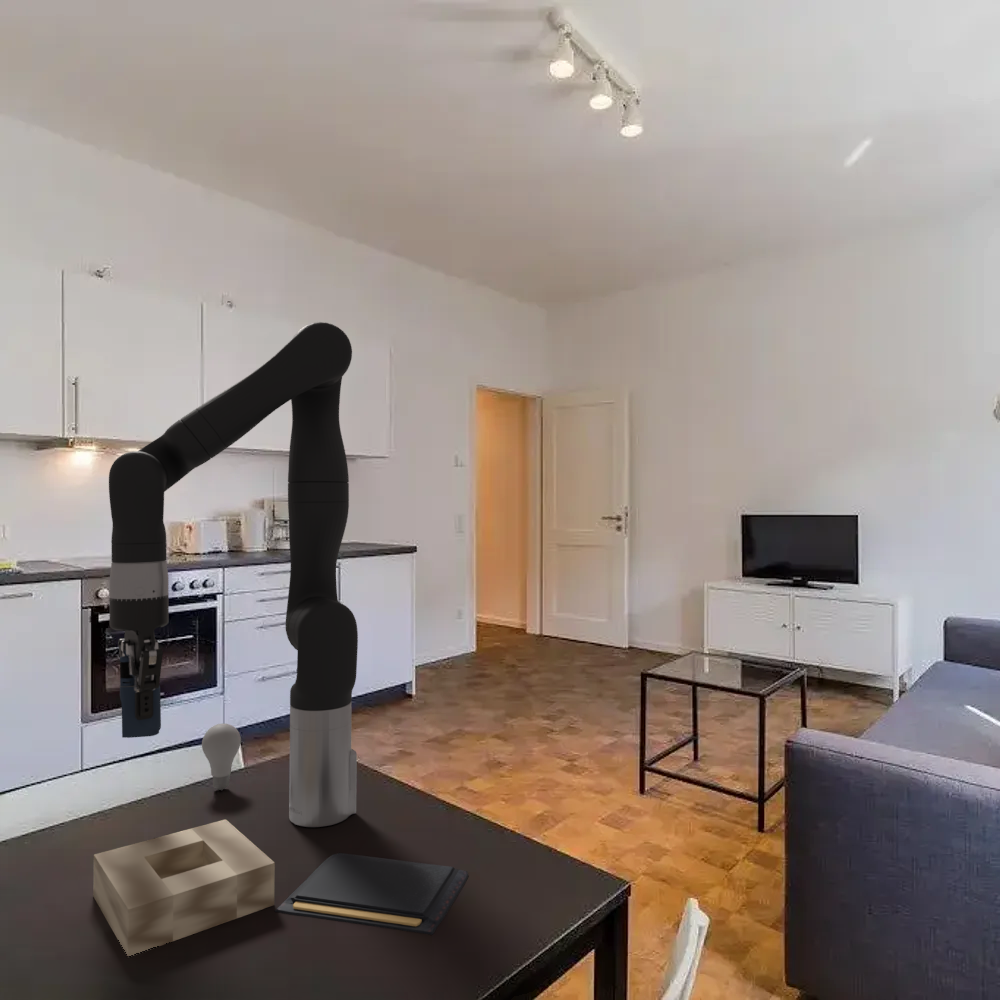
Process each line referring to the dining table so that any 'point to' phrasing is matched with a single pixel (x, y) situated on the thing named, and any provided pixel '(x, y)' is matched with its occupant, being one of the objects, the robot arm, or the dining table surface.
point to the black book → (378, 893)
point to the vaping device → (127, 697)
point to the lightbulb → (221, 752)
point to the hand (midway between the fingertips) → (139, 714)
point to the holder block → (181, 884)
